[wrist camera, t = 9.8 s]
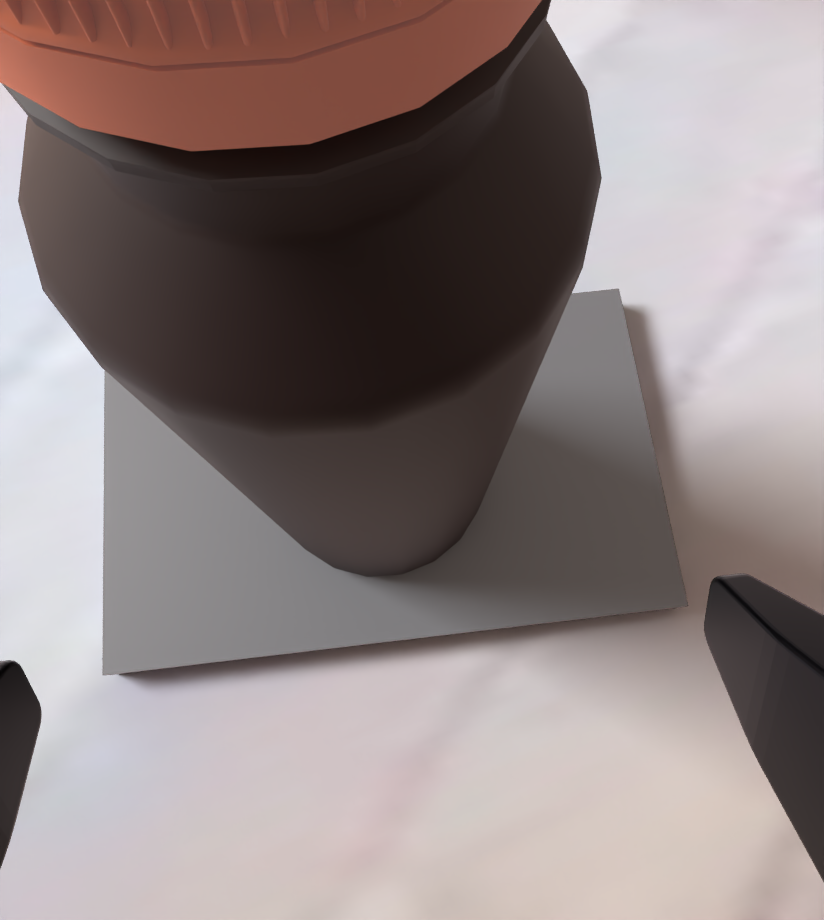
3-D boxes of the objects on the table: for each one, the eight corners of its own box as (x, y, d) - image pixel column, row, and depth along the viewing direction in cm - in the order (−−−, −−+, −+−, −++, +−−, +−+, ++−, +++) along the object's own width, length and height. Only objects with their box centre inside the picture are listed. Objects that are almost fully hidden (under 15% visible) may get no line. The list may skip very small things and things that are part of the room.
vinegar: (507, 552, 22) (1259, -275, 2) (295, 600, 21) (-906, 111, 2) (456, 358, 23) (637, -1016, 4) (260, 400, 23) (-551, -889, 4)
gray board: (676, 607, 22) (688, 605, 21) (116, 674, 22) (102, 675, 21) (611, 302, 25) (619, 288, 24) (117, 356, 25) (105, 343, 24)
